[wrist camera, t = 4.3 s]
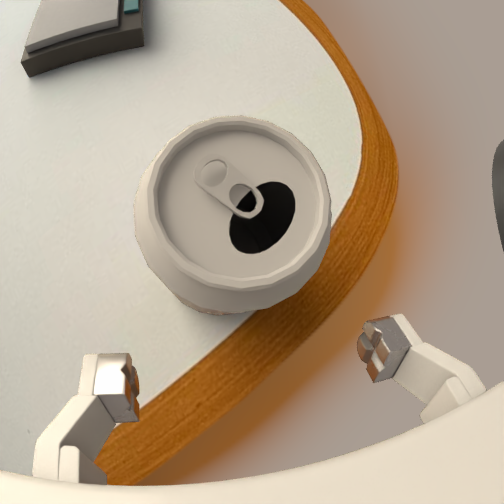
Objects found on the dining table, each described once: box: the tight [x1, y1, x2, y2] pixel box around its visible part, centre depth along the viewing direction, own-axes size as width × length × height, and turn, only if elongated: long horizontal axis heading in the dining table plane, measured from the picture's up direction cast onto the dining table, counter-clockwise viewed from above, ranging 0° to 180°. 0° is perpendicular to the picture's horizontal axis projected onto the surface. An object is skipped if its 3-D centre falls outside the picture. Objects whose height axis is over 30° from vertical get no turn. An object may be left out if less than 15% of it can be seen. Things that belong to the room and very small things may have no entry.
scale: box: [21, 0, 144, 77], centre depth 22 cm, size 12×12×4 cm
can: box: [133, 115, 332, 315], centre depth 16 cm, size 8×8×12 cm
